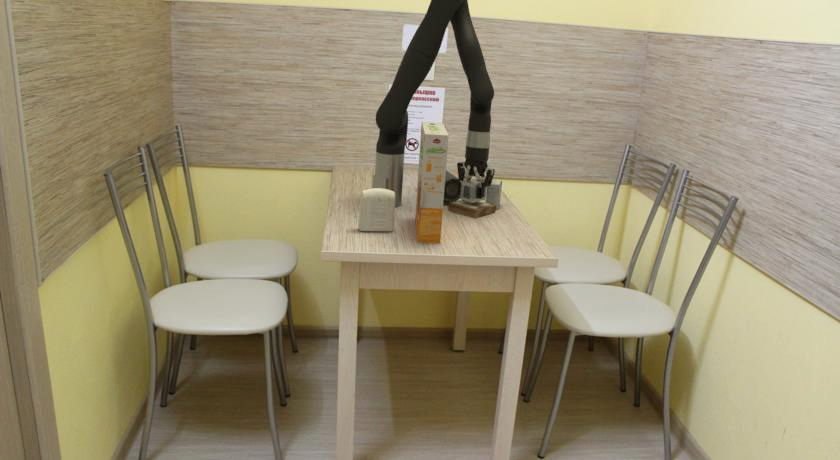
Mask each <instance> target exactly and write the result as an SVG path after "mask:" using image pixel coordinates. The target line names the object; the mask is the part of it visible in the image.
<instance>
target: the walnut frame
mask: <svg viewBox="0 0 840 460" xmlns="http://www.w3.org/2000/svg"><path fill="white" fill-rule="evenodd" d="M447 207H448V209H447V210H448V211H449V212H452V213H456V214H460V215H463V216H466V217H469V218H472V219H477V218H481V217H485V216H487V215H491V214H495V213H496V205H492V204H489V203H486V201H485V202H484V201H478V202H474V203H471V202H468V201H464V200H460V199H459V200H457V201H454V202H448V206H447Z"/></svg>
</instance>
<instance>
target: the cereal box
mask: <svg viewBox="0 0 840 460" xmlns="http://www.w3.org/2000/svg"><path fill="white" fill-rule="evenodd" d="M420 127H421V129H420V139H419V140H420V141H419V142H420V143H419V154H418V155H419V156H418V157H419V158H418V173H417V184H416V185H417V186H416V187H417V188H416V202H415V215H414V216H415V218H414V220H415V229H416V239H417V243H430V242H432V243H433V242H434V244H441V237H442V225H443V224H442V223H443V211H444V201H443V200H444V188H445V175H446V171H447V159H448V148H449V147H448V146H449V138H450V137H449V134H448V131H447V129H446V127H445V126H444V124H443V123H442V122H428V121H426V122H425V121H422V122H421V126H420Z"/></svg>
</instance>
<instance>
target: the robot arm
mask: <svg viewBox="0 0 840 460" xmlns="http://www.w3.org/2000/svg"><path fill="white" fill-rule="evenodd" d="M469 7H470V6H469V1H468V0H430V3H429V5H428V7H427V10H426V13H425V15H424V17H423V19H422V21H421V22H420V24H419V25H418V27H417V29H416V31H415V33H414V34H413V36H412V39H411V40H410V42H409V44H408V46H407V48H406V51H405V52H404V55H403V57H402V59H401V61H400V64H399V67H398V68H397V71H396V75H395V77H394V80H393V83H391V87H390V89H389V90H388V92H387V93H386V96H385V98H384V99H383V101H382V102H381V104H380V105H379V107H378V108H377V111H376V113H375V123H376V126H377V128H378V129H379V133H378V139H377V142H376V145H375V147H376V148H375V165H374V166H375V167H374V174H373V175H372V181H371V183H372V185H371V189H373V188H382V189H388V190H391V191H393V192H394V193H395V198H396V201H395V207H399V206H401V205H402V198H403V182H404V165H405V151H406V150H405V149H406V143H407V138H408V126H409V113H408V108H409V105H410V103H411V101H412V98H413V97H414V95H415V93H416V92H417V91H418V89H419V87H420V86H422V84H423V82H424V81H425V79H426V78H427V76H428V74H429V73H430V71H431V69H432V68H433V65H434V64H435V61H436V59H437V57H438V54H439V52H440V49H441V46H442V43H443V40H444V38H445V33H446V30H447V27H448V25H449V24H450V25H451V27H452V30H453V36H454V41H455V45H456V49H457V53H458V57H459V59H460V60H459V61H460V63H461V67H462V69H463V72H464V74H465V75H466V79H467V83H468V87H469V90H470V99H469V100H470V102H469V103H470V104H469V106H470V107H469V109H470V110H469V116H468V117H469V118H468V127H467V134H466V142H465V151H464V158H465V161H460V162H457V164H456V168H457V175H458V176H457V178H458V179H459V181H461V182H462V181H467V180H472V179H473V177H475V179H476V180H477V181H478V185H479V188H478V195H477V198H478V199H482V198H483V197H484V191H485V187H487V186H490V185H491V182H492V179H494V175H495V173H496V170H495V169H494V168H490V167H489V165H488V160H489V153H490V146H491V145H490V143H491V125H492V115H491V111H492V101H493V99H494V97H495V88H494V86H493V83H492V81H491V77H490V76H489V72H488V69H487V65H486V61H485V57H484V53H483V51H482V48H481V45H480V41H479V38H478V36H477V33H476V31H475V27H474V24H473V21H472V18H471V13H470V12H471V11H470V8H469Z"/></svg>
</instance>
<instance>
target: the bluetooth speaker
mask: <svg viewBox="0 0 840 460" xmlns="http://www.w3.org/2000/svg"><path fill="white" fill-rule="evenodd" d="M461 184H462V181H459V178H458V176H456V175H454V174H453V173H451V172H450V171H448V170H446V175H445V188H444V200H443V202H445V201H446V202H448V203H451V202H456V201H460V196H461Z"/></svg>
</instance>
